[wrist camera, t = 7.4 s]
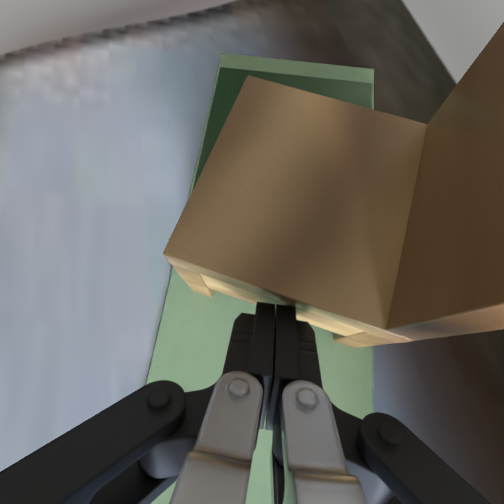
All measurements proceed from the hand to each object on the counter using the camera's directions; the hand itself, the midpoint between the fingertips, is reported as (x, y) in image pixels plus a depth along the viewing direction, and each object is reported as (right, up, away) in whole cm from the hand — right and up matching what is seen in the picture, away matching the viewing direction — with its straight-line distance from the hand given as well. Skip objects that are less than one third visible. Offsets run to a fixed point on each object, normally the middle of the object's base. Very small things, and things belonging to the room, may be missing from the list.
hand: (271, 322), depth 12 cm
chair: (+2, +3, +5) cm, 7 cm away
